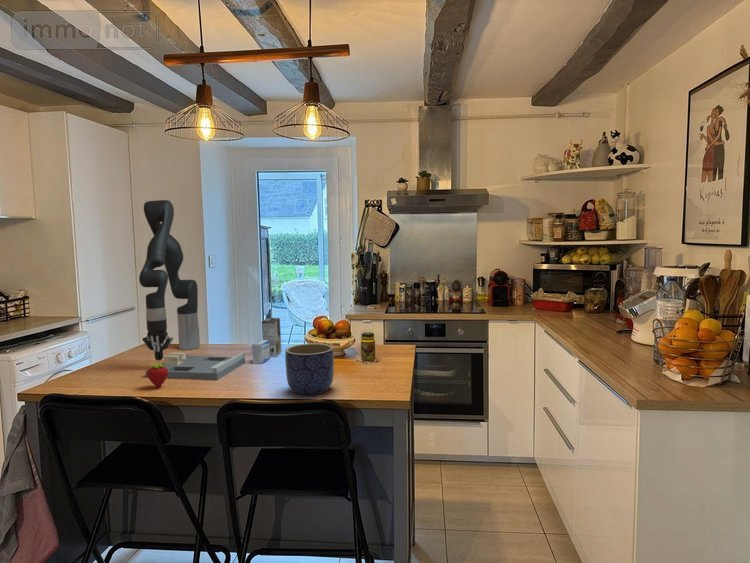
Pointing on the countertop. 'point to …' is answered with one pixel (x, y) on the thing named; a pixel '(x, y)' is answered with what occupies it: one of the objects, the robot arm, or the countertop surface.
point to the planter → (309, 367)
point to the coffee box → (272, 335)
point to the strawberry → (157, 374)
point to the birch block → (174, 358)
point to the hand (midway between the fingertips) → (159, 360)
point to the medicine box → (260, 352)
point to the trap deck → (205, 367)
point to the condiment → (368, 347)
